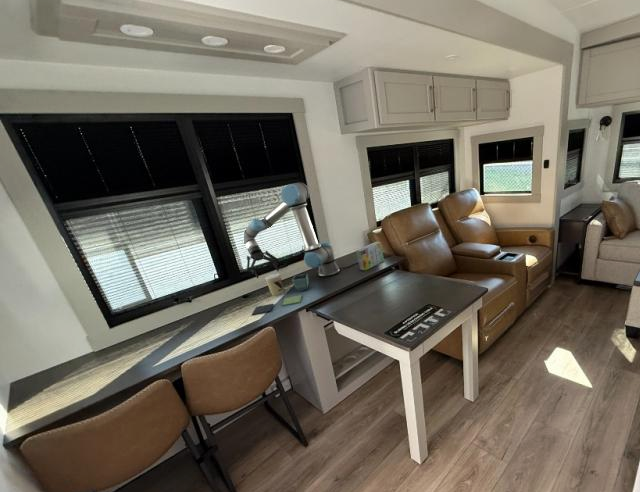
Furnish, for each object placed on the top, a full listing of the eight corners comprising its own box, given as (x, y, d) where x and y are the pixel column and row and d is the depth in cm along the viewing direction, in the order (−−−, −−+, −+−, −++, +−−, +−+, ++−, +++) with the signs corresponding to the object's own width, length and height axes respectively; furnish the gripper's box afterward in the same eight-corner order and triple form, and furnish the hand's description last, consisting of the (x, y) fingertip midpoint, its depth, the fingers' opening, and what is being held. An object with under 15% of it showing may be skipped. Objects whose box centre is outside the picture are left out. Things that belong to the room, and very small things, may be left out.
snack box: (379, 260, 240) (375, 241, 234) (384, 261, 236) (381, 241, 231) (359, 270, 225) (355, 250, 219) (365, 271, 222) (361, 250, 216)
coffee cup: (280, 295, 200) (274, 278, 195) (267, 296, 202) (261, 279, 198) (287, 289, 208) (282, 272, 204) (275, 290, 211) (270, 273, 206)
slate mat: (273, 304, 188) (273, 303, 188) (270, 311, 179) (269, 310, 178) (256, 308, 187) (256, 306, 186) (252, 315, 178) (251, 314, 177)
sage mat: (301, 296, 194) (301, 295, 194) (299, 302, 185) (299, 301, 185) (285, 299, 193) (284, 298, 193) (282, 306, 184) (282, 304, 184)
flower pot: (311, 285, 209) (307, 273, 205) (309, 290, 201) (306, 277, 197) (297, 288, 208) (294, 275, 205) (295, 293, 200) (292, 280, 197)
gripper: (271, 247, 221) (285, 270, 216) (234, 257, 207) (248, 282, 201) (272, 240, 215) (286, 264, 210) (234, 250, 201) (248, 276, 196)
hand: (268, 273), depth 206 cm, fingers open, 13 cm apart
